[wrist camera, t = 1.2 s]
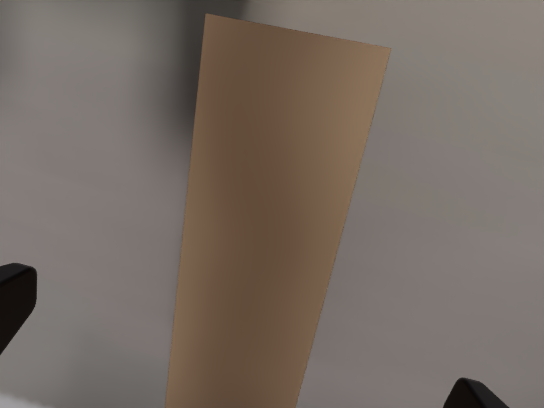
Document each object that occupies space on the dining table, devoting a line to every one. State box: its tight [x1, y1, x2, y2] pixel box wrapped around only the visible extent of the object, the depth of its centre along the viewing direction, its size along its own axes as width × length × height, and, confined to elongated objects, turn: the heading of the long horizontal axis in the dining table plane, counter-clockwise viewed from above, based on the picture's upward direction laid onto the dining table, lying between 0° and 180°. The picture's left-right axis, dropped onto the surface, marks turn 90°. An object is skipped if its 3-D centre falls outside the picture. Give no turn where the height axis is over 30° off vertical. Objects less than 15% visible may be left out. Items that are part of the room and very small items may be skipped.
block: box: [165, 13, 391, 408], centre depth 12 cm, size 4×12×4 cm, turn 170°
